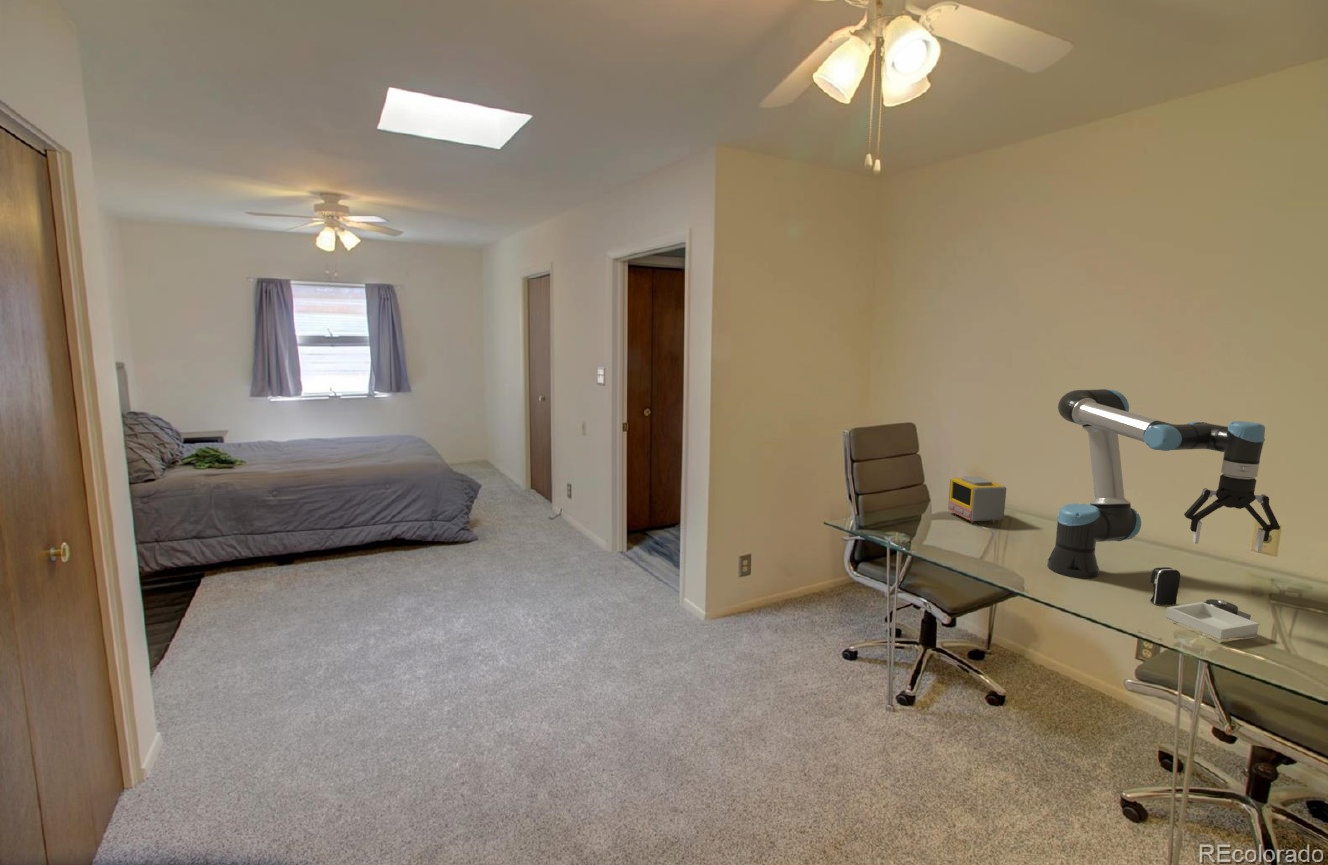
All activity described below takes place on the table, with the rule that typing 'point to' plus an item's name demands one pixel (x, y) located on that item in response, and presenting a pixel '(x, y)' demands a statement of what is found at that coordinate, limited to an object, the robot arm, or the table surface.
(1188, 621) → the tray
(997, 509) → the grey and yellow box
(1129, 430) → the robot arm
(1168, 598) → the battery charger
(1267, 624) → the table surface
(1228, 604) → the speaker
